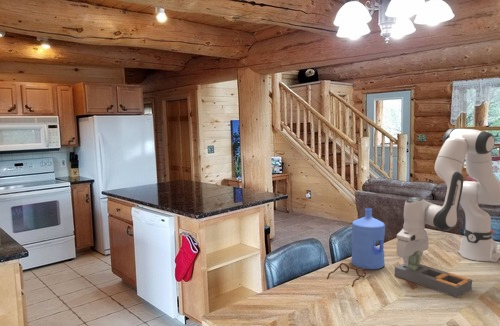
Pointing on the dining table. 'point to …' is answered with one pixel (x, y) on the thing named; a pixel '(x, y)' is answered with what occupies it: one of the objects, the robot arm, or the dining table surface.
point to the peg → (414, 261)
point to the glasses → (348, 270)
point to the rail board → (436, 279)
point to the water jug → (367, 242)
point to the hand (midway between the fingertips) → (412, 262)
